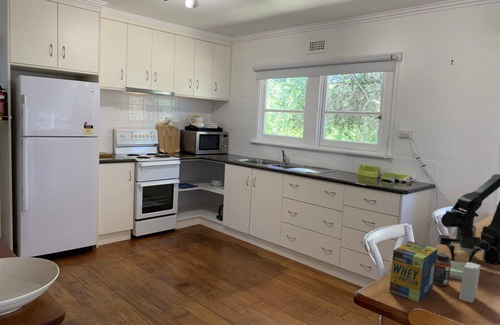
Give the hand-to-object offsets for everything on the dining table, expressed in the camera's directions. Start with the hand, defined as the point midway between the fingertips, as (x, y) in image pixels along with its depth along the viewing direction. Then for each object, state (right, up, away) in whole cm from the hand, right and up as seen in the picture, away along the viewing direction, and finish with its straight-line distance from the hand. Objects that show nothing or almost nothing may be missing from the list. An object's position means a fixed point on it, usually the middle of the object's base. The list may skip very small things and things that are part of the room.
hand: (460, 261), depth 164 cm
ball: (0, +2, 0) cm, 2 cm away
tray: (-7, -2, -10) cm, 13 cm away
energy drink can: (+8, 0, +11) cm, 14 cm away
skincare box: (-15, -5, -32) cm, 36 cm away
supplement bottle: (-19, -3, -20) cm, 28 cm away
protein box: (-33, -4, -27) cm, 43 cm away
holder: (0, -1, 0) cm, 1 cm away
